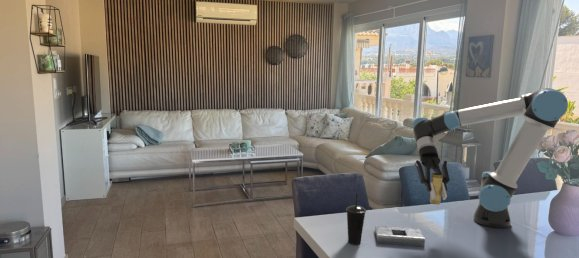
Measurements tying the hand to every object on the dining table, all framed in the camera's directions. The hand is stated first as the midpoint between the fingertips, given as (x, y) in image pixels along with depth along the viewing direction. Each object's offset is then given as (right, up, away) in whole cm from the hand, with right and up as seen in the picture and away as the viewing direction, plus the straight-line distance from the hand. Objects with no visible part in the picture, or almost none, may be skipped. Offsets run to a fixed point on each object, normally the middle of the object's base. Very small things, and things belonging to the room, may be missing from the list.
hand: (439, 198), depth 166 cm
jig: (-16, -17, +2) cm, 23 cm away
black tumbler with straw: (-34, -17, -3) cm, 39 cm away
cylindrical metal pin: (0, -3, +4) cm, 5 cm away
